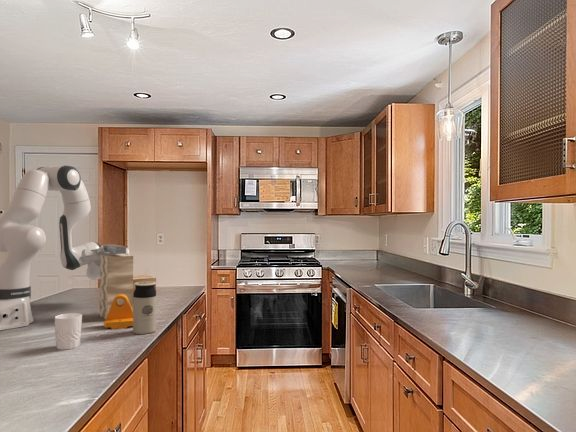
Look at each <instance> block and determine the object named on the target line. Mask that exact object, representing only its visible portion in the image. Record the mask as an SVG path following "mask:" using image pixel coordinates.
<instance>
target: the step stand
mask: <svg viewBox="0 0 576 432" xmlns="http://www.w3.org/2000/svg"><path fill="white" fill-rule="evenodd" d="M99 280H100V281H99V316H100V317H101V318H103V319H104V320H105V319H106V317H107V315H108V312H109V310H110V307H111V305H112V302H113V300H114V298H115V297H116V296H117V295H119V294H124V295H126V296H127V297H128V300H129V302H130V305H131V307H132V310H133V297H134V291H135V289H136V288H135V285H134V284H135V283H137V282H155V283H156V284H155V287H154V288H155V290H156V291H157V277H155V276H151V275H149V274H148V275H147V274H140V275H139V274H138V275H134V255H131V254H130V255H126V254H117V255H101V260H100V279H99ZM117 303H118V304H119V305H122V304H124V300H122V299H118V300H117Z"/></svg>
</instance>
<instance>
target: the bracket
mask: <svg viewBox="0 0 576 432" xmlns="http://www.w3.org/2000/svg"><path fill="white" fill-rule="evenodd" d="M118 299H122V300H124V304H122V305H119V304H118V303H117V300H118ZM103 326H104V328H106V329H108V328H110V329H111V330H120V329H128V327H133V310H132V307H131V305H130V302H129V300H128V297H127V296H126V295H124V294H119V295H117V296H116V297H115V298H114V300H113V302H112V305H111V307H110V310H109V312H108V315H107V317H106V319H104V323H103Z"/></svg>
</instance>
